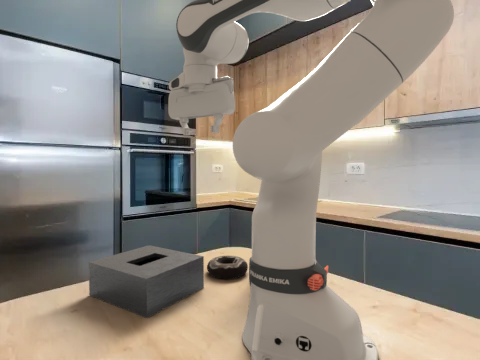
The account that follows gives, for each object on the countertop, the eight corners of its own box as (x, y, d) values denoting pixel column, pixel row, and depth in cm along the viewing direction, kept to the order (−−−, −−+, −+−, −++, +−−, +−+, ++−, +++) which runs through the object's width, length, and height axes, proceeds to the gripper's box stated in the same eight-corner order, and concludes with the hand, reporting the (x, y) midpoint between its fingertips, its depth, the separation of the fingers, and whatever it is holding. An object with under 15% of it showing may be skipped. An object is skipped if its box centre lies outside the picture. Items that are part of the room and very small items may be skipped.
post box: (203, 287, 76) (203, 256, 75) (147, 318, 60) (146, 278, 60) (149, 272, 86) (148, 245, 86) (89, 295, 71) (88, 262, 71)
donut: (236, 284, 78) (236, 269, 78) (199, 276, 84) (198, 262, 83) (254, 270, 89) (254, 257, 89) (219, 264, 94) (219, 252, 94)
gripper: (240, 78, 76) (240, 132, 76) (180, 89, 87) (180, 137, 87) (226, 71, 71) (226, 130, 71) (164, 83, 81) (164, 135, 82)
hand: (200, 134), depth 79 cm, fingers open, 8 cm apart
